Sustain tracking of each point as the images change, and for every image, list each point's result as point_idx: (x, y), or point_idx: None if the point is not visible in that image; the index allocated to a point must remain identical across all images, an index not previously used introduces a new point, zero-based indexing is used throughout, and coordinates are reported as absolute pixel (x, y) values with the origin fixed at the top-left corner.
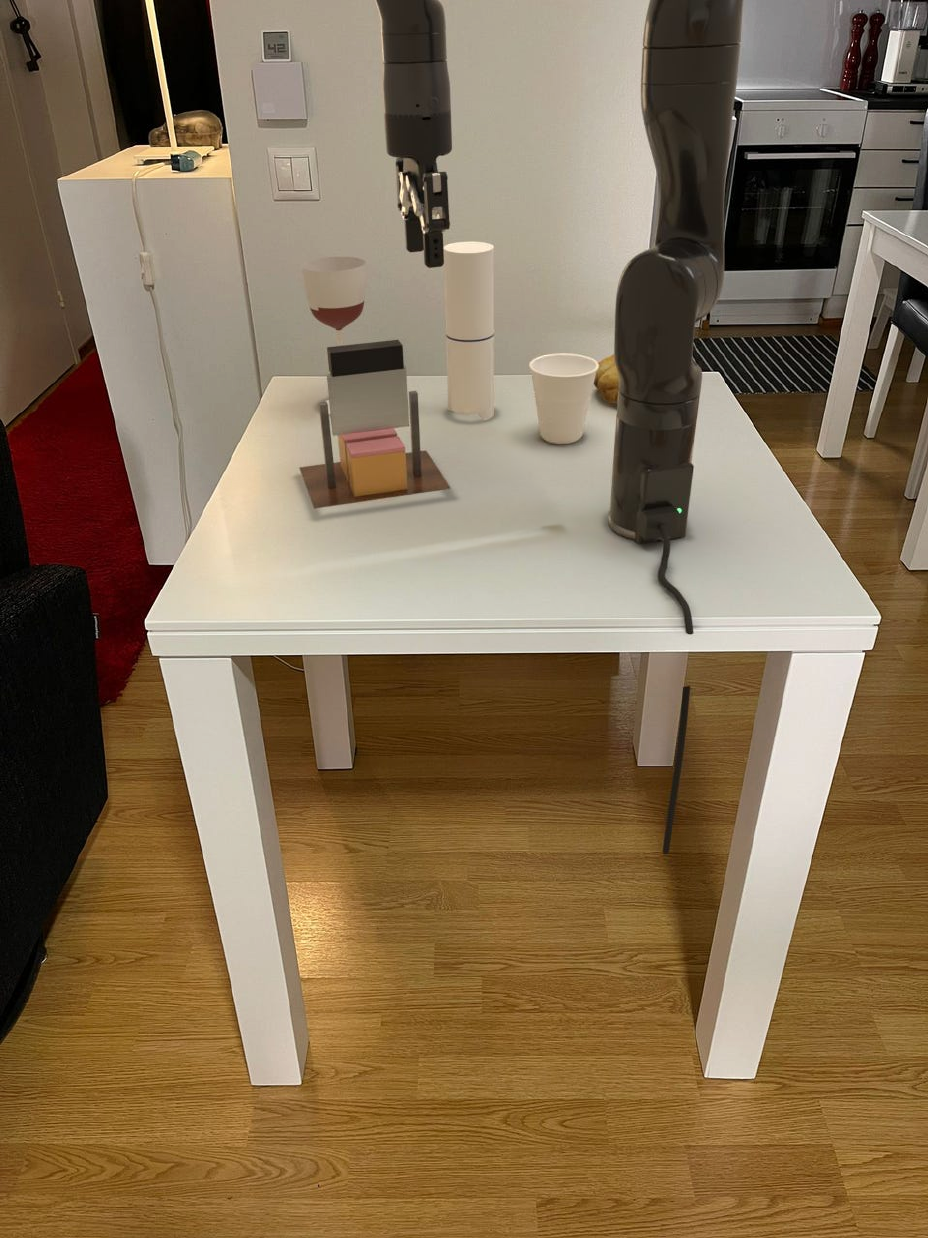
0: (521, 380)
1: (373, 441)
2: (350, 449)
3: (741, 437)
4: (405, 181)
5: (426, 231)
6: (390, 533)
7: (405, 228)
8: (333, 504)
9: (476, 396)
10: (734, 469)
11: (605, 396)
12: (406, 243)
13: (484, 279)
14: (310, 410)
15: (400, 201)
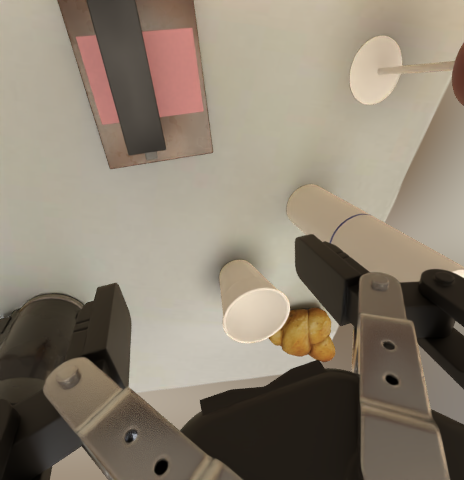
0: None
1: None
2: (93, 38)
3: (207, 379)
4: (358, 470)
5: (51, 378)
6: (17, 85)
7: (336, 263)
8: (63, 9)
9: (298, 218)
10: (154, 373)
11: (291, 313)
12: (311, 242)
13: None
14: (381, 20)
15: (441, 298)
